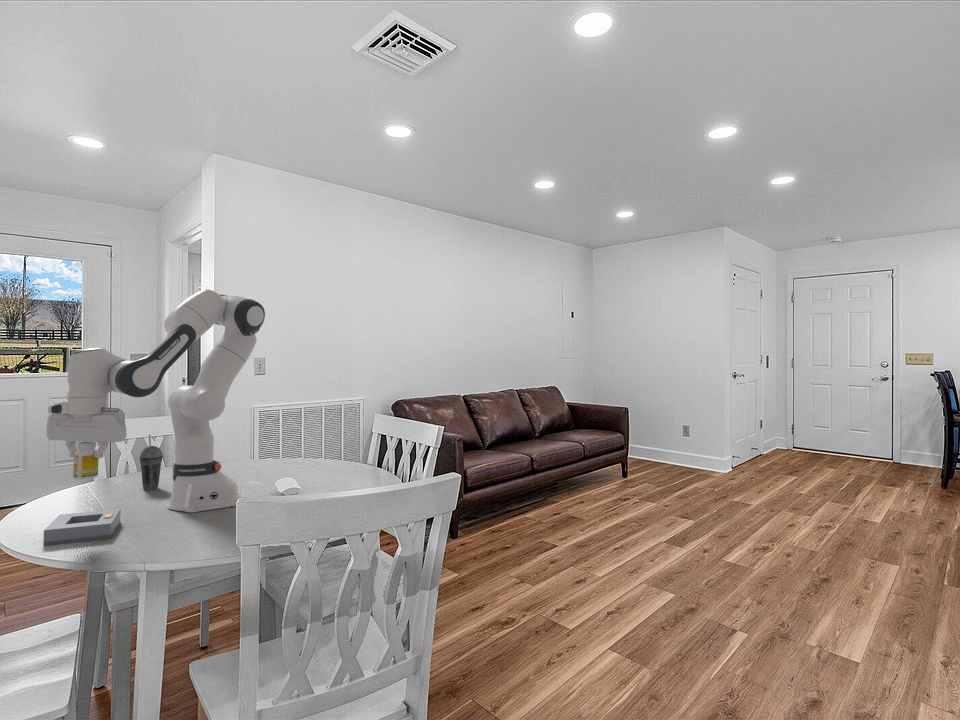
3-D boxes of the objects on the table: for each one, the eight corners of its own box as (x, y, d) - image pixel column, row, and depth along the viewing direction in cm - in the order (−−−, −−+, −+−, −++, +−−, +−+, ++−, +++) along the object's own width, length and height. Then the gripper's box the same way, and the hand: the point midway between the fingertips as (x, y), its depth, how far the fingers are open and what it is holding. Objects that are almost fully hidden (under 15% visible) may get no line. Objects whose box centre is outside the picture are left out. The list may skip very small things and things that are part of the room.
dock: (120, 522, 147) (120, 507, 147) (110, 538, 135) (110, 522, 135) (59, 528, 141) (59, 513, 141) (43, 545, 128) (43, 529, 128)
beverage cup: (167, 486, 188) (168, 433, 188) (152, 491, 180) (153, 435, 180) (148, 485, 188) (150, 432, 188) (133, 490, 181) (134, 435, 181)
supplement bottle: (68, 479, 135) (69, 444, 135) (82, 475, 140) (82, 440, 140) (89, 480, 135) (90, 444, 135) (102, 475, 141) (103, 441, 141)
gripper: (132, 407, 140) (131, 456, 140) (62, 404, 141) (61, 454, 142) (115, 409, 134) (114, 461, 134) (42, 407, 135) (40, 458, 135)
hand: (86, 457), depth 138 cm, fingers closed on supplement bottle, 5 cm apart
